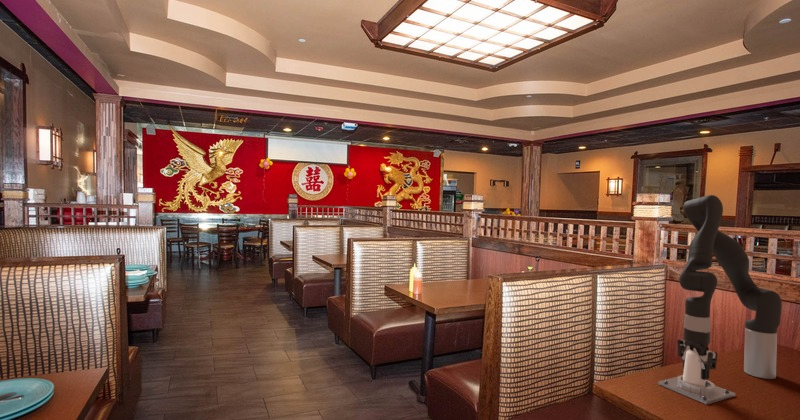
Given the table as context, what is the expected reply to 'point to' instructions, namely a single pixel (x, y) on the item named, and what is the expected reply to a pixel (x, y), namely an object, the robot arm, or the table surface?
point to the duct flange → (697, 390)
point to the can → (693, 369)
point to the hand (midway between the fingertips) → (695, 374)
